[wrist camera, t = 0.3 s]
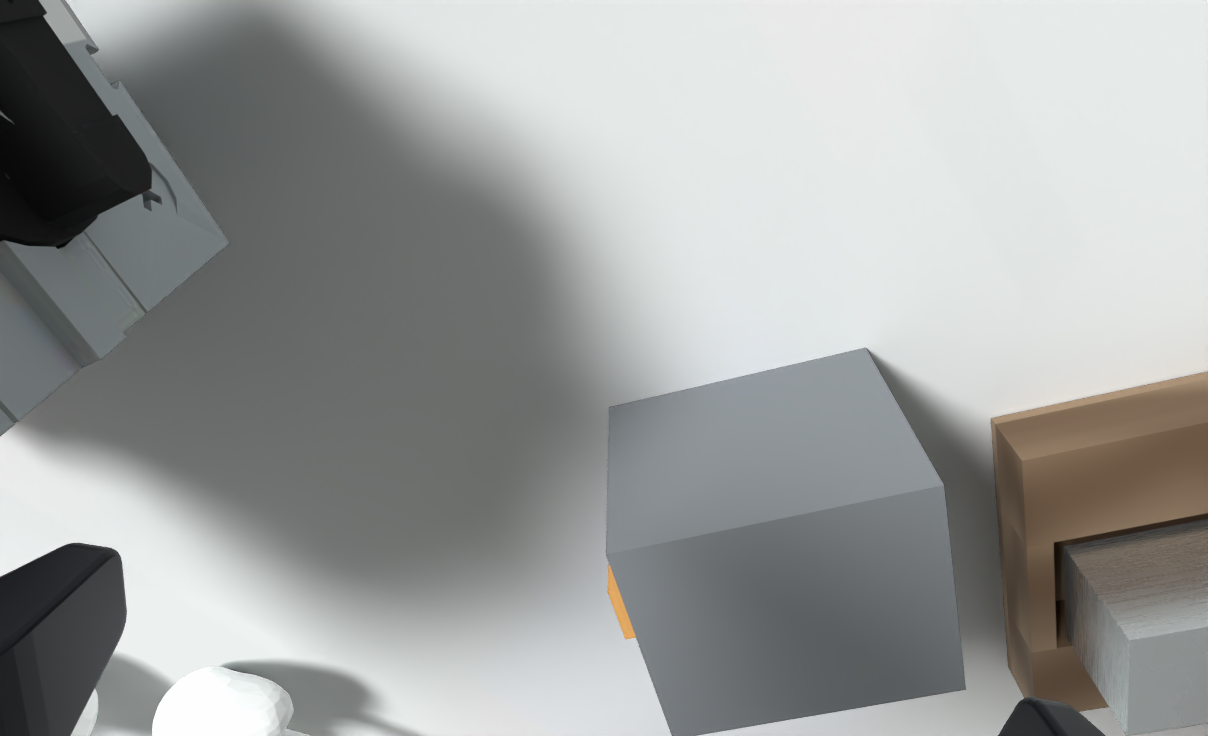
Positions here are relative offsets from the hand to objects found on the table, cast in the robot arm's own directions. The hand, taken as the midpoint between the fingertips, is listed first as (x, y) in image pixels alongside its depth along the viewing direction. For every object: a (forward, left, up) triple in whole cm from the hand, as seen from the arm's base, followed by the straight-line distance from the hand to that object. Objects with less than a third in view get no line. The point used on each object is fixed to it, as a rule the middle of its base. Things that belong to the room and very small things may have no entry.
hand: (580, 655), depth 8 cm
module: (-8, -2, -14) cm, 16 cm away
